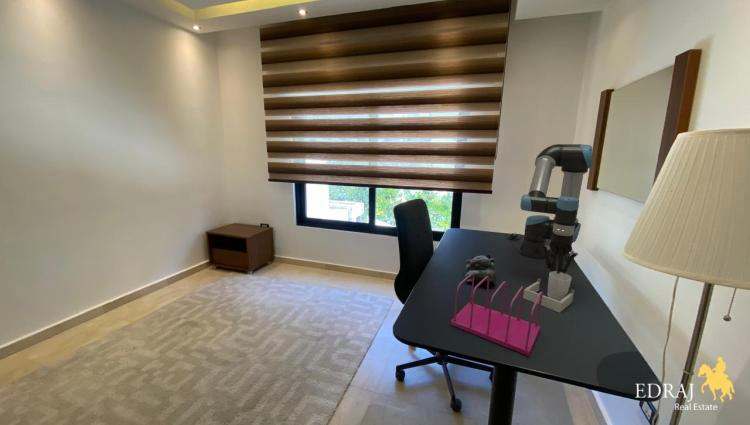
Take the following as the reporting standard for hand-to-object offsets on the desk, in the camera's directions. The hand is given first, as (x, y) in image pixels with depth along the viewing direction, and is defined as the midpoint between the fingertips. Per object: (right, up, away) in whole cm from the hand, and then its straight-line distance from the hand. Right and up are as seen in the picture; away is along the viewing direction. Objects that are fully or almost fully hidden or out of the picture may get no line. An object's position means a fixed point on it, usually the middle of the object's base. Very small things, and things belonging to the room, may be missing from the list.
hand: (554, 285), depth 129 cm
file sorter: (-37, -8, -26) cm, 46 cm away
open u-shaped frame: (-6, -4, -6) cm, 10 cm away
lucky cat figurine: (-30, -1, +10) cm, 31 cm away
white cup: (-2, -4, -4) cm, 6 cm away
